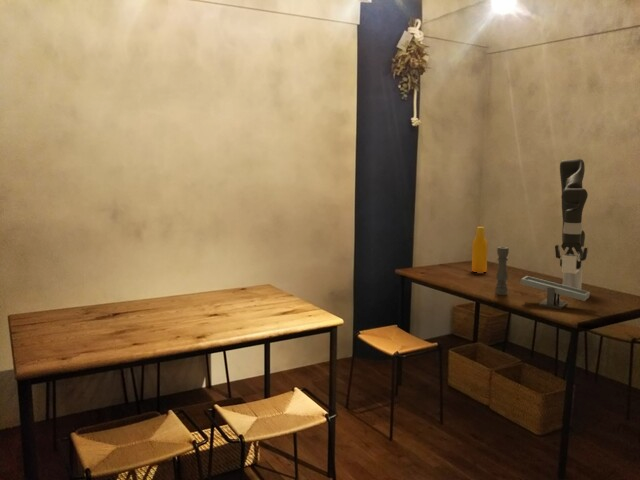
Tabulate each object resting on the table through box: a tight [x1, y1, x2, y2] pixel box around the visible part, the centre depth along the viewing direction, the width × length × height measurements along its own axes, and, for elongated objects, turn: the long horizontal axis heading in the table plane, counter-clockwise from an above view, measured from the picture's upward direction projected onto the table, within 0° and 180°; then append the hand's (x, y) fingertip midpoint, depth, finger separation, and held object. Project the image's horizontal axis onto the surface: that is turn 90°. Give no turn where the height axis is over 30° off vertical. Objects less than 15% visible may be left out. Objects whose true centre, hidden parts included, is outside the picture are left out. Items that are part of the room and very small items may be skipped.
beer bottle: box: [471, 226, 488, 273], centre depth 336 cm, size 9×9×29 cm
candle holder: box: [494, 246, 510, 296], centre depth 280 cm, size 6×6×25 cm
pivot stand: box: [538, 288, 568, 310], centre depth 259 cm, size 12×10×9 cm
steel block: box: [561, 254, 579, 274], centre depth 243 cm, size 6×6×8 cm
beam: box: [519, 275, 591, 302], centre depth 258 cm, size 9×30×3 cm, turn 52°
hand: (570, 268), depth 243 cm, fingers closed on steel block, 6 cm apart
